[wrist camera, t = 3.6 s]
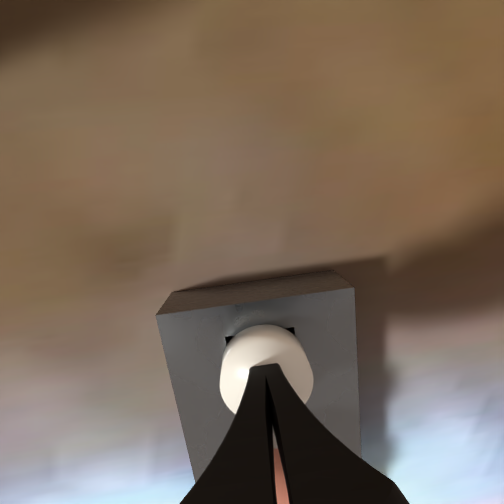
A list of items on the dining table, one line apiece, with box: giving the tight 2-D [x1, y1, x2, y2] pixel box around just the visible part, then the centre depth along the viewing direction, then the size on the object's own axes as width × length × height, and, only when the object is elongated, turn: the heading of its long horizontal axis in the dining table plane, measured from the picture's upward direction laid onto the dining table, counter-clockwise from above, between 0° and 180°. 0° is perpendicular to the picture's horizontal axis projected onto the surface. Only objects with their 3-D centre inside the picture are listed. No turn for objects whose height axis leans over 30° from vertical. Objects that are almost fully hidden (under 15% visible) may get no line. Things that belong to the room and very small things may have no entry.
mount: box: [156, 270, 361, 483], centre depth 16 cm, size 19×10×3 cm, turn 8°
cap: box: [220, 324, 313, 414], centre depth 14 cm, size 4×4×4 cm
